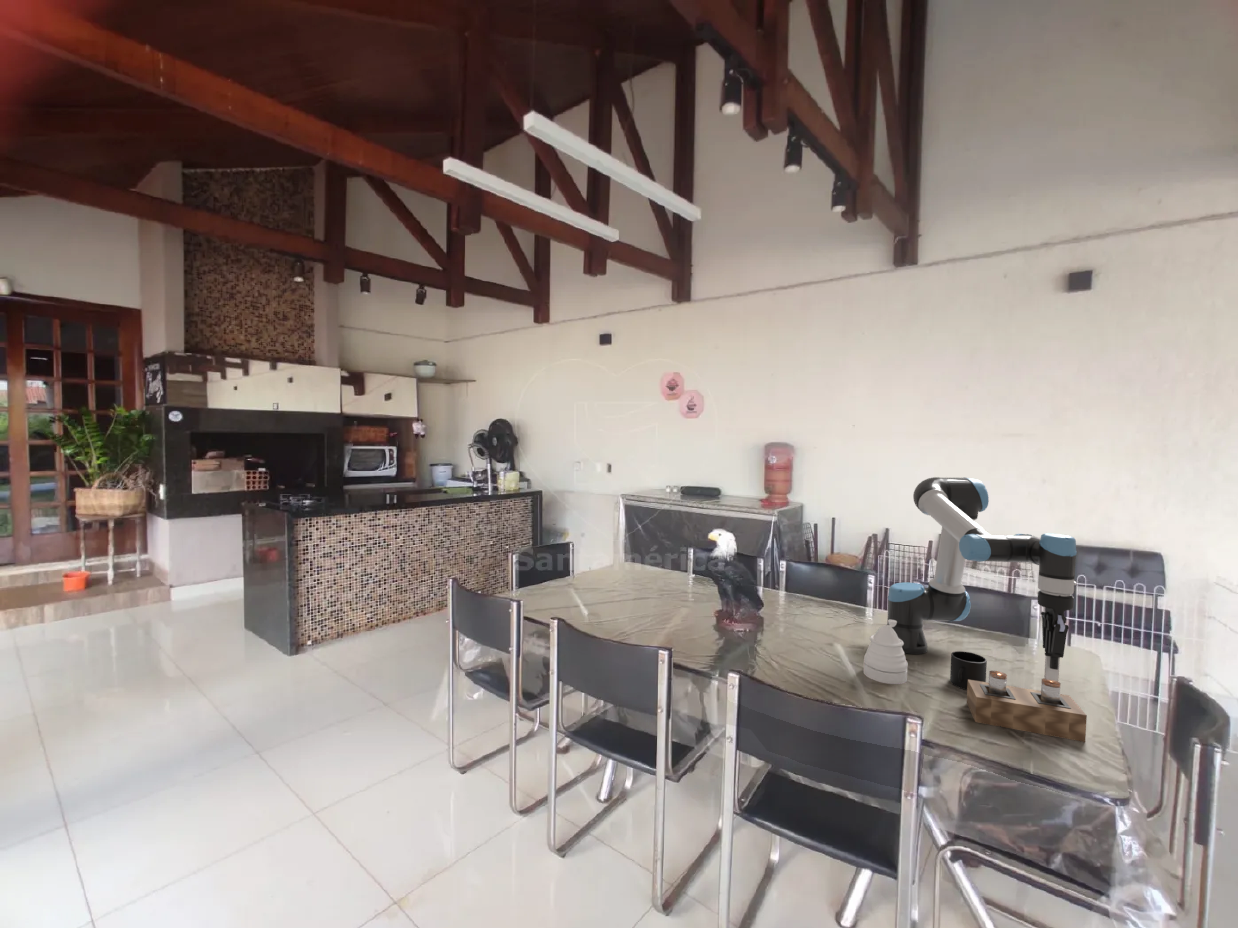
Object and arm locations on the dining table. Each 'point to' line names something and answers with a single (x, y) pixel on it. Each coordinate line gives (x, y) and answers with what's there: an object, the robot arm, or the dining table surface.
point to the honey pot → (886, 656)
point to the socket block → (1026, 711)
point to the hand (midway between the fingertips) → (1051, 678)
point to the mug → (967, 668)
